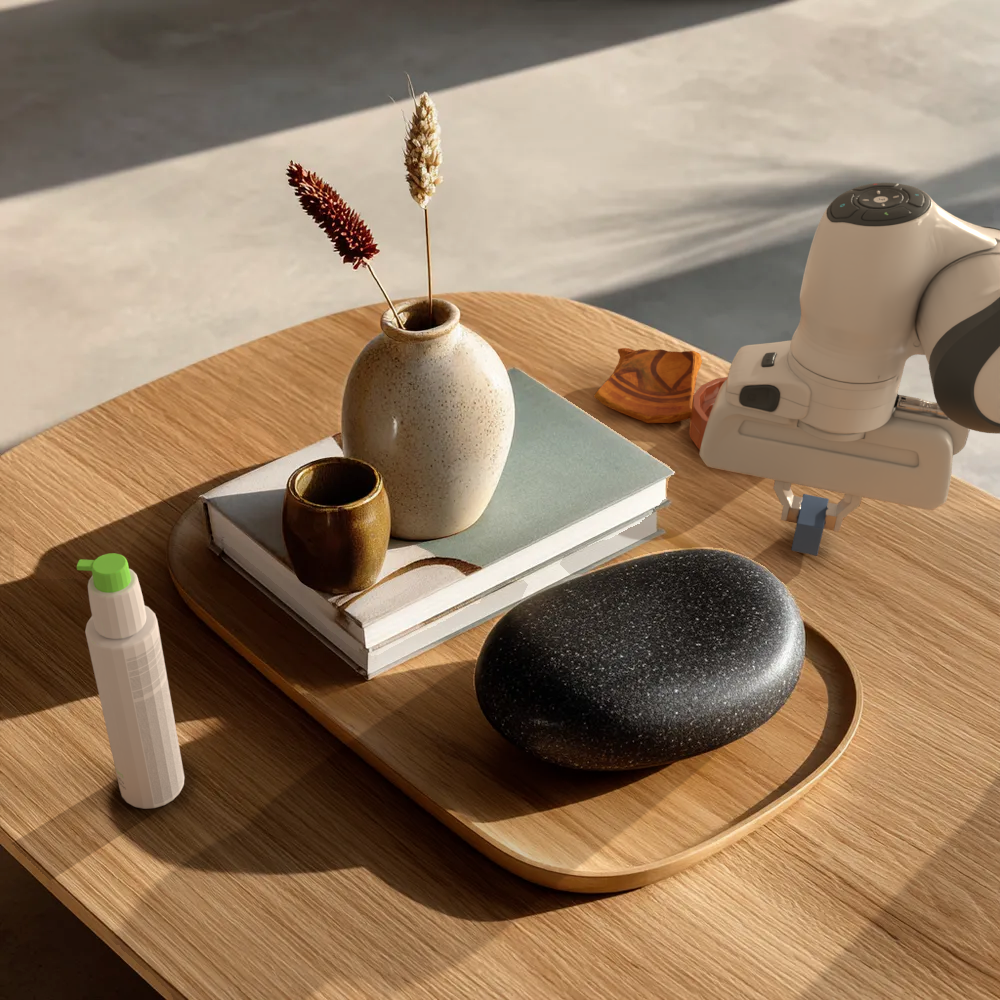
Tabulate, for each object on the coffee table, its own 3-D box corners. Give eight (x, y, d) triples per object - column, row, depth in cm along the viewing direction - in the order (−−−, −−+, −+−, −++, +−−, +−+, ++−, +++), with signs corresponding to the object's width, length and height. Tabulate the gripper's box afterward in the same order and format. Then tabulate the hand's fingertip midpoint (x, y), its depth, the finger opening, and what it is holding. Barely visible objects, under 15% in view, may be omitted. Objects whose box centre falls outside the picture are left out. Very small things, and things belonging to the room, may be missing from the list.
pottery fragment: (703, 348, 135) (699, 385, 126) (699, 390, 137) (695, 429, 128) (604, 339, 136) (593, 375, 127) (601, 381, 138) (591, 419, 129)
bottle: (144, 752, 94) (100, 533, 82) (197, 772, 93) (160, 552, 81) (107, 797, 91) (56, 575, 79) (161, 817, 90) (118, 595, 78)
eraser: (797, 520, 117) (803, 493, 115) (822, 525, 116) (828, 498, 114) (791, 550, 113) (797, 523, 112) (817, 556, 113) (823, 528, 111)
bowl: (739, 399, 133) (744, 365, 131) (818, 446, 127) (825, 411, 124) (666, 434, 128) (670, 399, 125) (745, 484, 122) (751, 449, 119)
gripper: (976, 388, 106) (936, 525, 114) (720, 343, 110) (700, 478, 118) (975, 431, 101) (933, 570, 109) (707, 382, 105) (687, 520, 114)
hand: (810, 522), depth 114 cm, fingers closed on eraser, 2 cm apart
